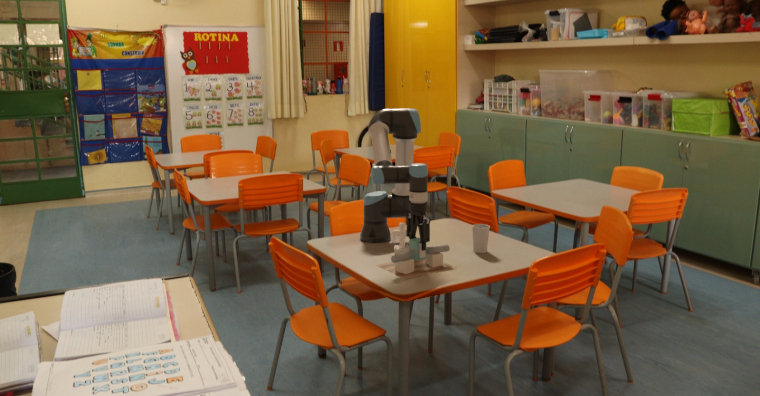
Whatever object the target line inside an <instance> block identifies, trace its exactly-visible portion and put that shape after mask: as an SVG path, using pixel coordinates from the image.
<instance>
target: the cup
mask: <svg viewBox="0 0 760 396" xmlns="http://www.w3.org/2000/svg"><path fill="white" fill-rule="evenodd" d="M471 228H472V231H471V232H472V246H473V247H472V248H473V249H472V252H473V253H477V254H485V253H486V254H487V253H488V244H489V238H490V237H489V235H490V228H491V226H490V225H488V224H484V223H476V224H472V225H471Z"/></svg>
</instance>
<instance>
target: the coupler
mask: <svg viewBox="0 0 760 396" xmlns="http://www.w3.org/2000/svg"><path fill="white" fill-rule="evenodd" d="M419 242H421V241H420V237H417V238H414V239H409V238H408V243H409V244H408V245H409V251H412V253H413V257H412V258H411V259H414V260H416V261H418V260H422V259H426V250H427V248H426V250H425V257H424V258H419Z"/></svg>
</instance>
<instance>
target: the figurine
mask: <svg viewBox="0 0 760 396" xmlns="http://www.w3.org/2000/svg"><path fill="white" fill-rule="evenodd" d="M406 226H407V222H406V223H405V222H399V224H398V227H399V229H393V230H392V232H391V242H392V243H395V242H396V237H399V244H394V246H393V251H394V253H395V255H397V254H400V253H404V252H407V251H409V244H406V237H407V236H406ZM409 234H410V233H409Z"/></svg>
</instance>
